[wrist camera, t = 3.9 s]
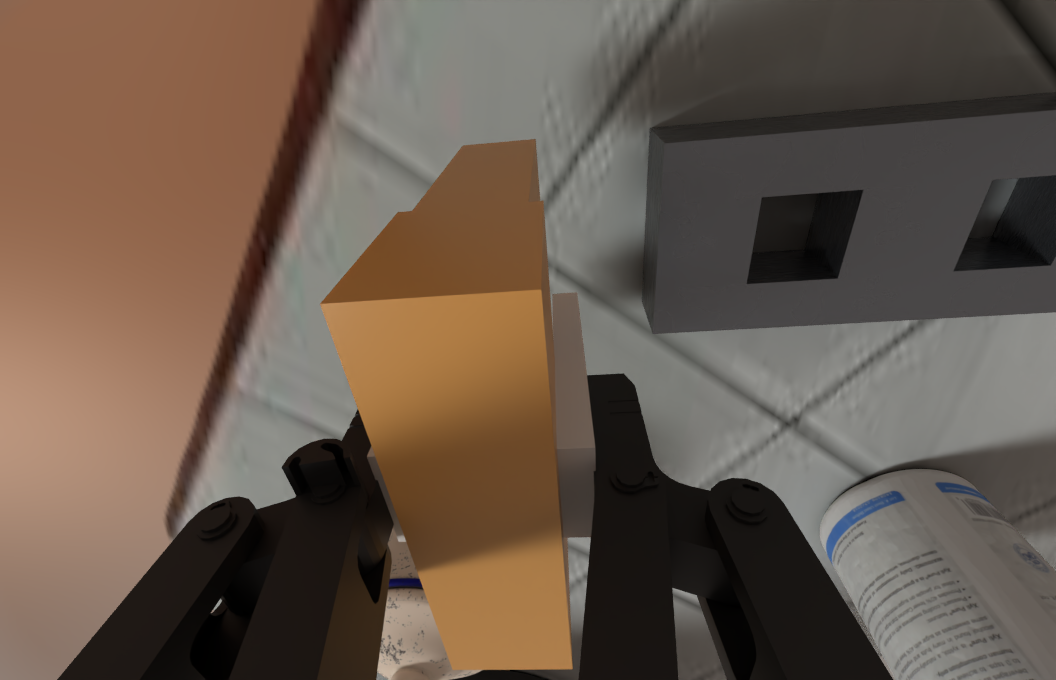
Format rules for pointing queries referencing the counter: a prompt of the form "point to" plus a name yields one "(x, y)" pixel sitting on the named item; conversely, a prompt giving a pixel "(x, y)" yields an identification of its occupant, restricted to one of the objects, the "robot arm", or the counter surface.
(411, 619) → the teacup with lid
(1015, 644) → the supplement tub
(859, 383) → the counter surface
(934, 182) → the graphite rail
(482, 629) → the orange clip
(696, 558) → the robot arm
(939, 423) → the counter surface
